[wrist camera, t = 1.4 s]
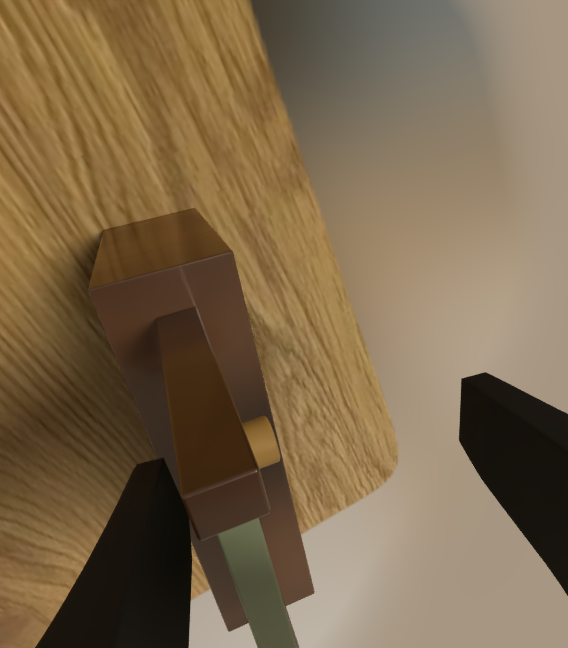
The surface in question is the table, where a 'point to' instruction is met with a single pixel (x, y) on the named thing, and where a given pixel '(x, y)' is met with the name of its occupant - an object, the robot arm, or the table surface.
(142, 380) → the door frame
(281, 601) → the door
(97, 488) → the table surface
